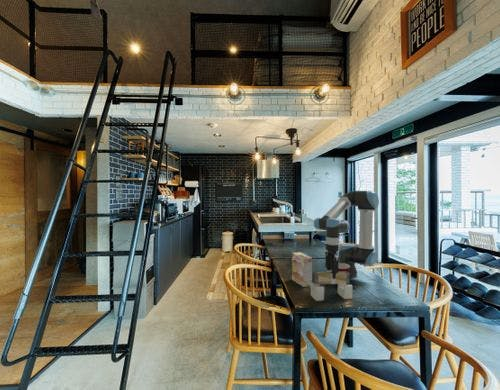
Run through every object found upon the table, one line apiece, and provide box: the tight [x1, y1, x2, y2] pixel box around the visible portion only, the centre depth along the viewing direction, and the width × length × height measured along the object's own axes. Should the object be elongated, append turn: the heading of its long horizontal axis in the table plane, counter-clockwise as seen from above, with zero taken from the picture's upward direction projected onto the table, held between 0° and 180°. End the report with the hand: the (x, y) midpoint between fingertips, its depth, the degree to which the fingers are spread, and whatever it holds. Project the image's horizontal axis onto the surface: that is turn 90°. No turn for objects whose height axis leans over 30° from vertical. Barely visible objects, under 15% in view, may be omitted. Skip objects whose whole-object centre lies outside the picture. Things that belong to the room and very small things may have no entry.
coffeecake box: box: [291, 251, 313, 288], centre depth 172 cm, size 15×7×20 cm, turn 21°
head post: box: [310, 282, 325, 302], centre depth 149 cm, size 8×5×8 cm, turn 9°
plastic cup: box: [338, 263, 350, 272], centre depth 175 cm, size 11×11×12 cm
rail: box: [312, 271, 350, 285], centre depth 150 cm, size 4×22×6 cm, turn 98°
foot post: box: [337, 284, 353, 300], centre depth 151 cm, size 8×5×8 cm, turn 9°
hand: (331, 282), depth 150 cm, fingers closed on rail, 4 cm apart
